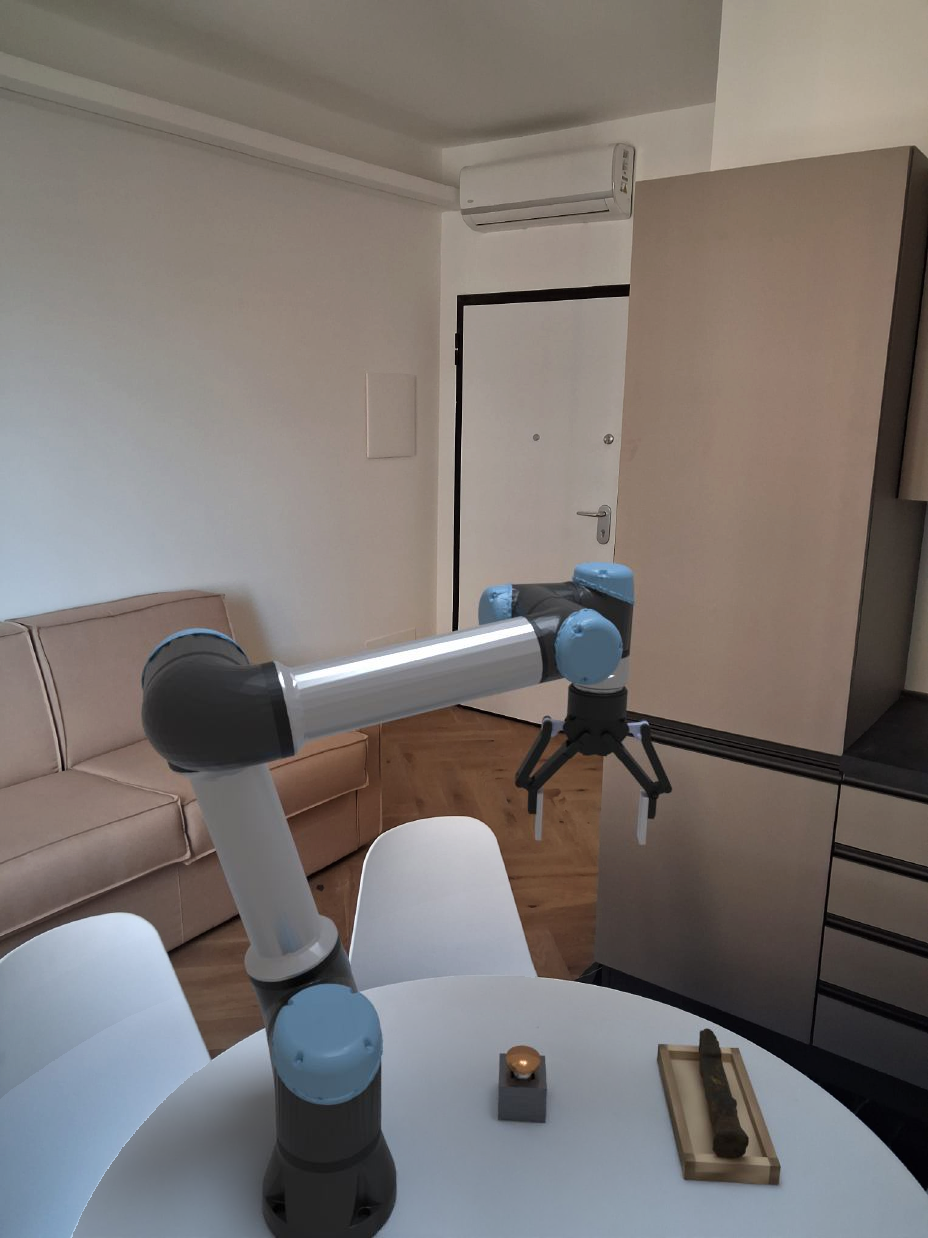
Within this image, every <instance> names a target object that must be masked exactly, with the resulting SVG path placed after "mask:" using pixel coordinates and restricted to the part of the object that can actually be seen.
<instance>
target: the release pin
mask: <svg viewBox="0 0 928 1238" xmlns="http://www.w3.org/2000/svg"><path fill="white" fill-rule="evenodd" d="M505 1054H506V1065H507V1067H508V1068H509V1069H510V1070H511V1071H512V1072H513V1079H530V1080H532V1073H534V1072H536V1071H537V1070H538V1069H539V1067H540V1055H541V1054H540V1053H539V1052H538V1050H537V1049H535V1048H534V1047H532V1046H528V1045H524V1044H523V1045H522V1044H521V1045H520V1044H519V1045H515V1046H512V1047H511V1048H509V1049H508V1050H507V1052H506V1053H505Z"/></svg>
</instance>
